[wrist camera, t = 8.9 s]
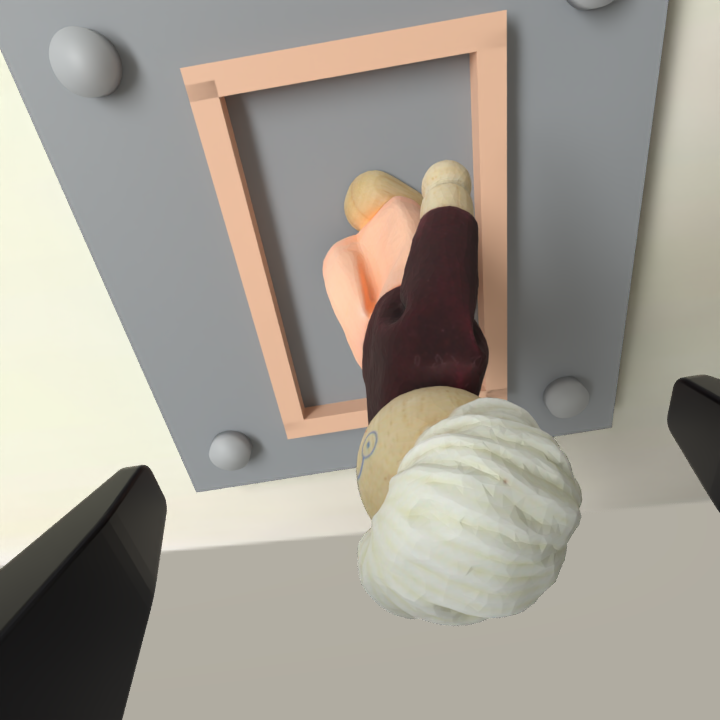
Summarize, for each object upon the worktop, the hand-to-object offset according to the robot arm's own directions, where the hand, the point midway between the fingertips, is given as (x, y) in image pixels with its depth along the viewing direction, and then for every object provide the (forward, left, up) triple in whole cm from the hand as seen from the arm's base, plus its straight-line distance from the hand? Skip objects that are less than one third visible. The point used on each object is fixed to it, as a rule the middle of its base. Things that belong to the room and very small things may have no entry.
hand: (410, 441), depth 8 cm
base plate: (0, 0, -11) cm, 11 cm away
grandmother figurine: (0, 0, -10) cm, 10 cm away
